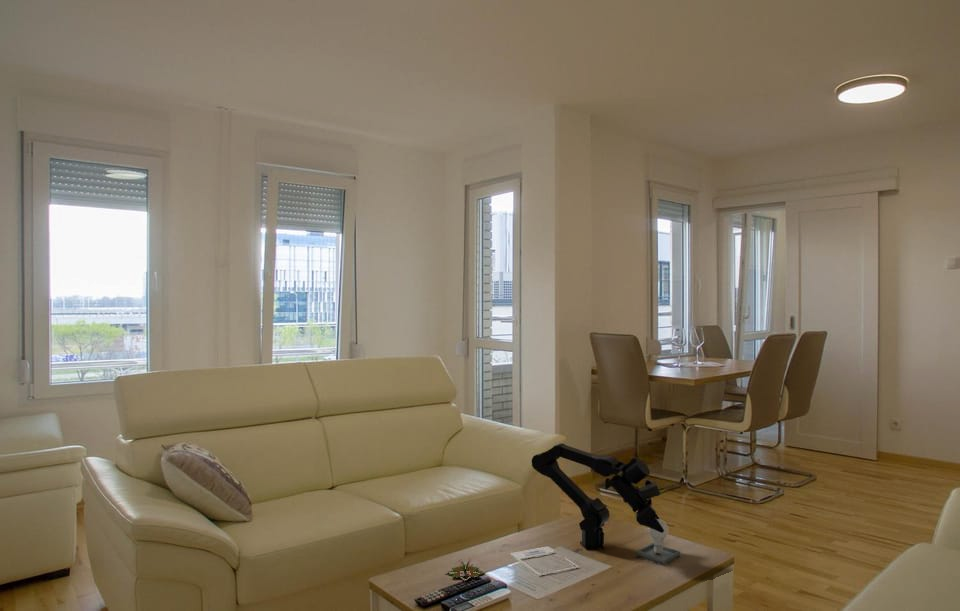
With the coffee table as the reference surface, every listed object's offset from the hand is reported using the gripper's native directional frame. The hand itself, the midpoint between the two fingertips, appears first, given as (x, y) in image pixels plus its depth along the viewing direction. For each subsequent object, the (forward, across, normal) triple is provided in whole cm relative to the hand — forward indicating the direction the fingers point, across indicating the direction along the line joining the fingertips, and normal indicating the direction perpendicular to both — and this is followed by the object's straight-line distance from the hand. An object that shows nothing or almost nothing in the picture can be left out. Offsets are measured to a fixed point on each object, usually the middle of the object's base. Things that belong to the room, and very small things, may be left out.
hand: (661, 526), depth 199 cm
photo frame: (-19, -11, +34) cm, 40 cm away
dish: (+6, 0, +8) cm, 10 cm away
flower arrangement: (-35, -26, +50) cm, 66 cm away
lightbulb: (+6, 0, +7) cm, 9 cm away
